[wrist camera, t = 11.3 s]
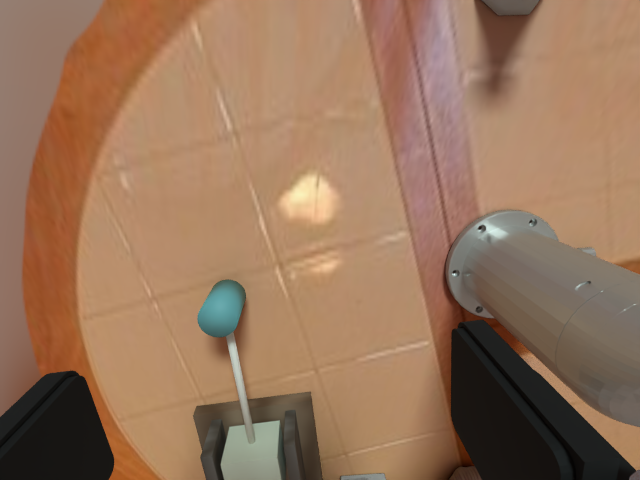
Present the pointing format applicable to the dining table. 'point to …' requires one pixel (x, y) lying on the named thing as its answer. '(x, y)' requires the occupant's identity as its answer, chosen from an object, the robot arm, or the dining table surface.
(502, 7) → the flask
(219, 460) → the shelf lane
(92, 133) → the dining table surface
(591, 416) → the dining table surface
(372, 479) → the coffee box
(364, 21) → the dining table surface
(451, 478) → the garlic bulb
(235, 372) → the cube with teal knob
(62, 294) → the dining table surface
